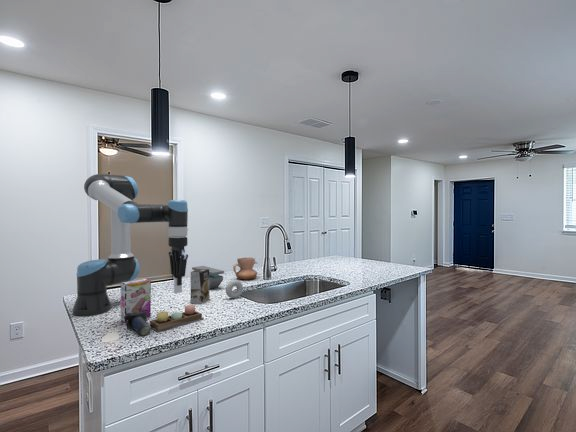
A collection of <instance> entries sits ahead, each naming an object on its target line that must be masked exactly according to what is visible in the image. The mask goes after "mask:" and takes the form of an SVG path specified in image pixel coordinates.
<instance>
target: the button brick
mask: <svg viewBox="0 0 576 432" xmlns="http://www.w3.org/2000/svg"><path fill="white" fill-rule="evenodd" d="M195 311H196V306H195V304H189V305H185V306H184V312H185V314H193V313H195Z"/></svg>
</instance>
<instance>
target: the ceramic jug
mask: <svg viewBox="0 0 576 432" xmlns="http://www.w3.org/2000/svg"><path fill="white" fill-rule="evenodd" d="M236 262H237V263H235V264H234V265H233V266H232V267H233V268H232V269H233V272H234V274H235V276H236V278H237V279H238V280H243V281H249V280H254V279H255V278H256V277H257V276H258V272H257V271H256V270H255V269H254V266H255V264H259V262H258V261H256V257H253V256H252V257H251V256H250V257H248V256H247V257H239V258H237V260H236ZM236 267H238V268H240V269H239V270H238V271H236Z"/></svg>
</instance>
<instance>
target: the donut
mask: <svg viewBox="0 0 576 432" xmlns="http://www.w3.org/2000/svg"><path fill="white" fill-rule="evenodd" d="M234 287H235V288H236V290H235V291H233V289H234ZM243 289H244V285H243V283H242V282H241V280H240V279H232V280H231V281H229V282H228V283H227V285H226V287H225V294H226V296H227V297H229V298H230V299H237V298H239V297H240V296H241V295H242V293H243Z"/></svg>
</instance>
